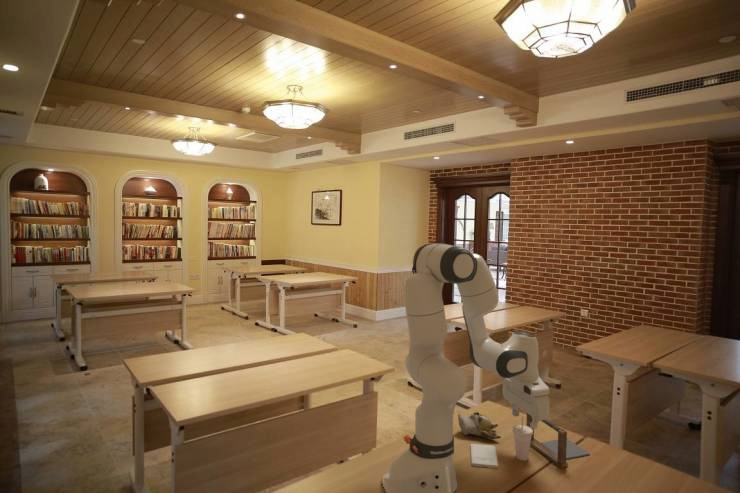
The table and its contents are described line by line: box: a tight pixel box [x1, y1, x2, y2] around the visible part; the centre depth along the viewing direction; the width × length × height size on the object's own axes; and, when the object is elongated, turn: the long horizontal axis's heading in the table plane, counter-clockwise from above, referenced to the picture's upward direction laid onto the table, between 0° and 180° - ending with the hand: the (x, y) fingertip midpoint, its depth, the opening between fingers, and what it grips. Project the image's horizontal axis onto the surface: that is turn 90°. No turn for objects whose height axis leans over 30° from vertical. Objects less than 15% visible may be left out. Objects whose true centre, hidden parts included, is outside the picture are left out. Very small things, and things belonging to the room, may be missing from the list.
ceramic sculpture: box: [457, 411, 501, 440], centre depth 163 cm, size 11×9×15 cm
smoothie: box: [512, 416, 533, 461], centre depth 148 cm, size 6×6×14 cm
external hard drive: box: [470, 443, 499, 469], centre depth 149 cm, size 2×8×12 cm
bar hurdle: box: [525, 413, 569, 469], centre depth 151 cm, size 3×18×12 cm, turn 17°
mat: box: [540, 438, 591, 461], centre depth 153 cm, size 11×11×1 cm
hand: (524, 421), depth 148 cm, fingers open, 8 cm apart
